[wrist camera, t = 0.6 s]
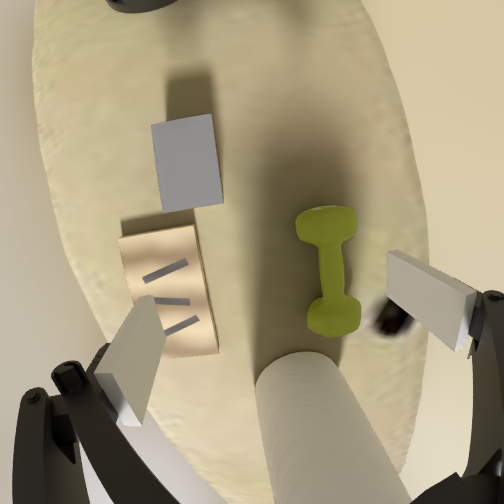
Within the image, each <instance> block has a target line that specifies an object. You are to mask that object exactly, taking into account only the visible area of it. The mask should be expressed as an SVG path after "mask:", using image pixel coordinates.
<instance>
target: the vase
mask: <svg viewBox="0 0 504 504" xmlns="http://www.w3.org/2000/svg"><path fill="white" fill-rule="evenodd" d="M255 396H256V406H257V413H258V419H259V424H260V430H261V435H262V441H263V446H264V451H265V456H266V462H267V467H268V472H269V477H270V482H271V487H272V492H273V497H274V502H275V504H410V503H411V502H412V500H411V498H410V496H409V494H408V492H407V490H406V488H405V486H404V485H403V483H402V481H401V479H400V477H399V475H398V473H397V471H396V470H395V468H394V466H393V464H392V462H391V460H390V458H389V457H388V455H387V453H386V451H385V449H384V447H383V446H382V444H381V442H380V440H379V438H378V437H377V435H376V433H375V431H374V429H373V428H372V426H371V424H370V422H369V420H368V419H367V417H366V415H365V413H364V412H363V410H362V408H361V406H360V404H359V403H358V401H357V399H356V397H355V396H354V394H353V392H352V390H351V389H350V387H349V385H348V383H347V382H346V380H345V378H344V377H343V375H342V373H341V372H340V370H339V369H338V367H337V366H336V365H335V363H334V362H333V361H332V360H331V359H330V358H328V357H327V356H325V355H323V354H320V353H317V352H297V353H292V354H288V355H286V356H283V357H281V358H279V359H277V360H275V361H274V362H273V363H271V364H270V365H269V366H267V367H266V368H265V369H264V370H263V372H262V373H261V374H260V376H259V378H258V380H257V382H256V387H255Z"/></svg>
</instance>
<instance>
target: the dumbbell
mask: <svg viewBox="0 0 504 504" xmlns="http://www.w3.org/2000/svg"><path fill="white" fill-rule="evenodd" d="M295 225H296V232H297V235H298V237H299V239H300V240H302V241H304V242H307V243H311V244H314V245H316V246H317V247H318V250H319V272H320V281H321V288H322V292H323V297H320V298H317V299H315V300H314V301H313V302H312V304H311V305H310V307H309V309H308V312H307V326H308V328H309V329H310V330H311V331H313V332H315V333H317V334H319V335H322V336H324V337H328V338H335V337H339V336H343V335H346V334H349V333H352V332H354V331H356V330H357V329H358V327H359V325H360V320H361V305H360V302H359V301H358V300H357V299H355V298H353V297H350V296H347V295H345V294H344V286H345V279H344V263H343V256H342V251H341V245H342V243H343V242H344V241H346V240H348V239H350V238H351V237H352V236H353V235H354V234H355V232H356V229H357V216H356V212H355V210H354V209H352V208H350V207H347V206H337V205H330V206H320V207H315V208H311V209H308V210H305V211H304V212H302V213H301V214H299V215H298V216H297V218H296V220H295Z"/></svg>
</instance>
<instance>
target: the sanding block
mask: <svg viewBox="0 0 504 504" xmlns="http://www.w3.org/2000/svg"><path fill="white" fill-rule="evenodd" d="M151 128H152V138H153V147H154V155H155V163H156V170H157V177H158V184H159V191H160V197H161V203H162V209H163V213H168V212H174V211H180V210H186V209H191V208H197V207H204V206H210V205H216V204H223V203H224V198H223V191H222V184H221V176H220V169H219V162H218V155H217V147H216V140H215V132H214V125H213V120H212V115H211V114H205V115H199V116H193V117H187V118H182V119H176V120H171V121H167V122H162V123H157V124H153V125H151Z"/></svg>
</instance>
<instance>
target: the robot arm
mask: <svg viewBox="0 0 504 504" xmlns="http://www.w3.org/2000/svg"><path fill="white" fill-rule="evenodd" d="M106 1H107V3H108V4H109V6H110V7H111V8H113V9H114V10H116V11H119V12H123V13H143V12H148V11H152V10H156V9H159V8H162V7H165V6H167V5H169V4H171V3H174V2H175V1H177V0H106ZM386 296H388V297H389V298H390V299H391V300H393V301H394V302H395V303H396V304H398V305H399V306H400V307H401V308H403V309H404V310H405V311H406V312H408V313H409V314H410V315H411V316H412V317H414V318H415V319H416V320H417V321H418V322H420V323H421V324H422V325H423V326H424V327H426V328H427V329H428V330H429V331H430V332H432V333H433V334H434V335H435V336H436V337H438V338H439V339H440V340H441V341H442V342H443V343H444V344H446V345H447V346H448V347H449V348H450V349H451V350H453V351H454V352H455V351H457V350H459V349H461V348H462V347H464V346H465V345H466V341H467V337H468V334H469V335H470V336H471V337H473V340H472V344H471V347H470V350H469V354H468V358H467V359H469V358H470V356H471V355H472V365H473V418H472V432H471V443H470V451H469V459H468V464H467V467H466V470H465V472H464V474H463V476H462V477H459V475H458V474H457V472H455V473H454V474H452V475H450V476H449V477H447V478H446V479H444V480H442V481H441V482H439V483H437V484H436V485H434V486H432V487H430V488H429V489H427V490H426V491H424V492H423V493H422V494H421V495H419V496H418V497H417V498H416V499H415V500H413V501H412V502H411V503H410V504H504V294H503V293H501V292H499V291H494V290H490V291H485V292H484V293H481V292H479V291H477V290H475V289H474V288H472V287H470V286H468V285H466V284H465V283H463V282H461V281H459V280H457V279H455V278H453V277H451V276H449V275H447V274H445V273H443V272H441V271H439V270H437V269H435V268H433V267H431V266H429V265H428V264H426V263H424V262H422V261H420V260H418V259H416V258H414V257H411V256H409V255H407V254H405V253H403V252H401V251H399V250H393V251H389V252H387V284H386ZM166 339H167V338H166V335H165V332H164V329H163V326H162V323H161V320H160V317H159V314H158V310H157V307H156V304H155V301H154V297H153V295H146V296H140V297H139V298H138V300H137V302H136V303H135V305H134V306H133V308H132V309H131V311H130V313H129V314H128V316H127V317H126V319H125V321H124V322H123V324H122V326H121V327H120V329H119V330H118V332H117V334H116V335H115V337H114V339H113V340H112V342H111V343H106V344H105V345H104V346H103V347H101V348H100V349H99V351H98V352H97V354H96V355H95V358H94V359H93V360H92V363H91V364H90V366H89V367H88V369H87V370H86V372H85V371H84V369H83V367H82V365H81V364H80V363H79V362H78V361H67V362H64V363H62V364H60V365H58V366H57V367H56V368H55V369H54V370H53V372H52V373H51V378H52V380H53V381H54V383H55V385H56V387H57V388H58V390H59V392H60V393H61V395H55V396H50V397H49V395H48V394H47V392H46V391H45V390H44V389H43V388H40V387H37V388H33V389H30V390H28V391H27V392H26V393H25V395H24V396H23V397H22V399H21V403H20V408H19V414H18V420H17V427H16V435H15V444H14V455H13V475H12V496H13V504H90V501H89V497H88V493H87V488H86V483H85V479H84V473H83V468H82V462H81V456H80V448H79V442H81V444H82V447H83V449H84V451H85V453H86V455H87V457H88V459H89V461H90V463H91V465H92V467H93V469H94V470H95V472H96V474H97V476H98V478H99V480H100V481H101V483H102V485H103V487H104V488H105V490H106V492H107V493H108V495H109V497H110V498H111V500H112V501H113V503H114V504H180V503H179V502H178V501H177V500H176V498H175V497H173V495H172V494H171V493H170V492H169V491H168V490H167V489H166V488H165V487H164V485H163V484H162V483H161V482H160V481H159V480H158V479H157V477H156V476H155V475H154V474H153V473H152V472H151V470H150V469H149V468H148V467H147V465H146V464H145V463H144V462H143V460H142V459H141V458H140V457H139V456H138V454H137V453H136V451H135V450H134V449H133V447H132V446H131V445H130V443H129V442H128V441H127V439H126V438H125V436H124V435H123V433H122V432H121V430H120V429H119V428H118V426H117V425H116V421H117V419H118V416H119V418H120V419H121V421H122V422H123V424H124V426H142V423H143V419H144V415H145V411H146V408H147V404H148V400H149V397H150V393H151V389H152V386H153V382H154V379H155V375H156V372H157V368H158V365H159V362H160V358H161V355H162V352H163V348H164V345H165V342H166Z"/></svg>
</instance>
